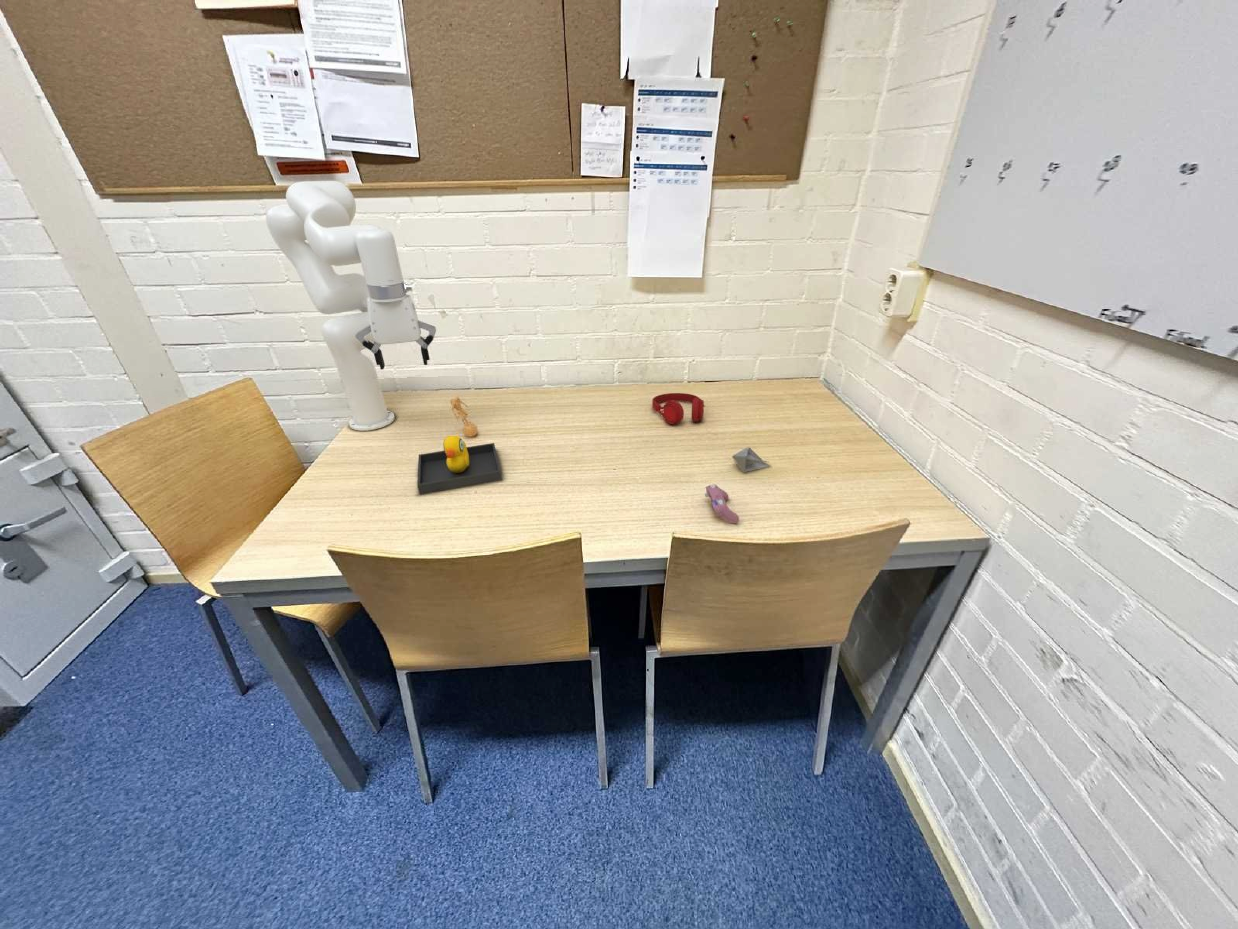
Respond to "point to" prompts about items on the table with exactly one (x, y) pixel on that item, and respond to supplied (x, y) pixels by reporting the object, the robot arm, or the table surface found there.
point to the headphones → (678, 407)
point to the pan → (440, 478)
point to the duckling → (456, 454)
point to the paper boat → (748, 460)
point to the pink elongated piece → (721, 503)
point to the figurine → (469, 427)
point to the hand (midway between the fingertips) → (404, 365)
